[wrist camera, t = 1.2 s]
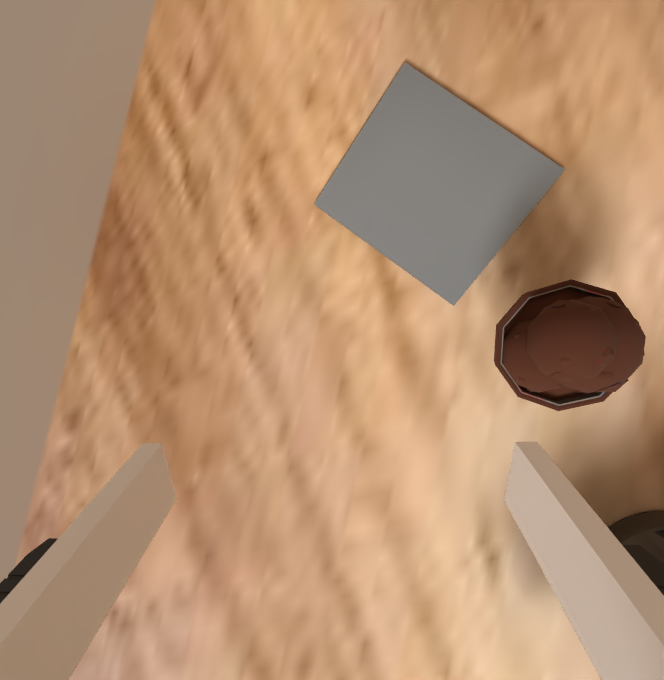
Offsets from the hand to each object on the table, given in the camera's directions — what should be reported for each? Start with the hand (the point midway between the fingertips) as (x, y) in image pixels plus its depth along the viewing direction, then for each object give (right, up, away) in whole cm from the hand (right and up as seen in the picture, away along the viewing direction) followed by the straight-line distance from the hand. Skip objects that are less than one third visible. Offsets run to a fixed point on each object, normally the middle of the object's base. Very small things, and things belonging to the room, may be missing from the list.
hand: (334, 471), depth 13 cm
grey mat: (+11, +22, +24) cm, 34 cm away
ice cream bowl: (+21, +6, +25) cm, 33 cm away
